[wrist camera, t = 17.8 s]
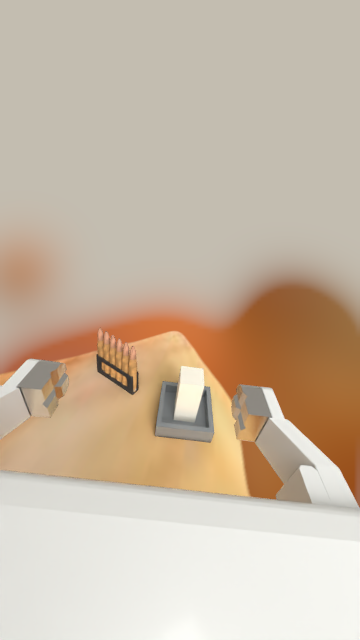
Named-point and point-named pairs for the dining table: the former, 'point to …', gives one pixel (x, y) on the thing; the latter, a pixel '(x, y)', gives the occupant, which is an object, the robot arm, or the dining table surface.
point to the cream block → (188, 393)
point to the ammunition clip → (117, 362)
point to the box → (183, 429)
